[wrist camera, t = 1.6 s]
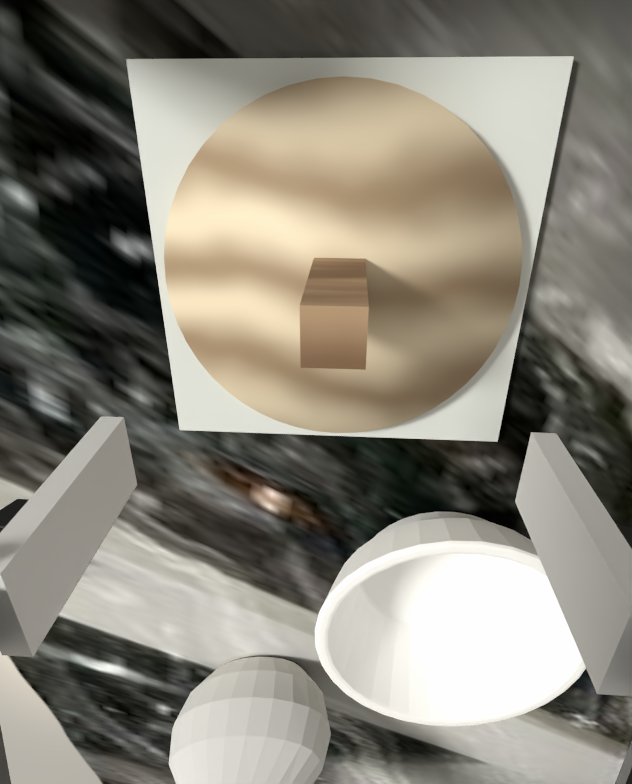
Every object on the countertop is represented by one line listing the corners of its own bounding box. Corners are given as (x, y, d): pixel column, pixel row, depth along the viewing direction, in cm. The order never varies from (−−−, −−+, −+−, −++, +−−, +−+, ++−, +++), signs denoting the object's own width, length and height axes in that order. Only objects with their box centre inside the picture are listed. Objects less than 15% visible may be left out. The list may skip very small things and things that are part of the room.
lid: (144, 78, 31) (46, 58, 21) (552, 76, 29) (651, 54, 20) (190, 419, 42) (140, 511, 32) (487, 430, 41) (529, 529, 31)
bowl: (276, 527, 48) (262, 600, 40) (510, 433, 42) (544, 500, 34) (383, 667, 56) (388, 749, 49) (591, 606, 50) (633, 690, 43)
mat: (129, 60, 31) (126, 59, 30) (570, 57, 30) (573, 56, 29) (181, 426, 43) (179, 429, 43) (495, 437, 42) (497, 441, 41)
